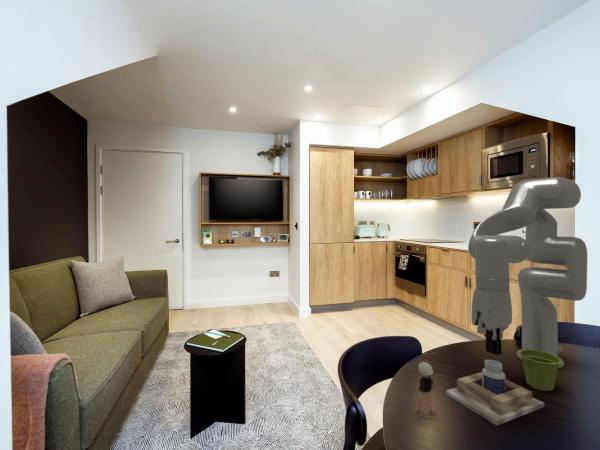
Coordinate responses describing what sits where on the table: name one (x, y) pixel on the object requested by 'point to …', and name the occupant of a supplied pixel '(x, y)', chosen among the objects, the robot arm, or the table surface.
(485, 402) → the frame
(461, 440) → the table surface
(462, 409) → the table surface
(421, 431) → the table surface
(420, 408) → the grandmother figurine
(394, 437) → the table surface
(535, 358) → the plant pot
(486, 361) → the pill bottle
